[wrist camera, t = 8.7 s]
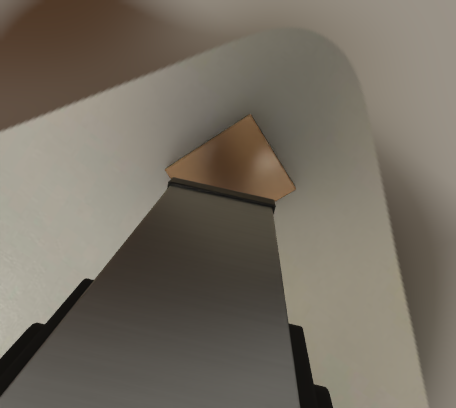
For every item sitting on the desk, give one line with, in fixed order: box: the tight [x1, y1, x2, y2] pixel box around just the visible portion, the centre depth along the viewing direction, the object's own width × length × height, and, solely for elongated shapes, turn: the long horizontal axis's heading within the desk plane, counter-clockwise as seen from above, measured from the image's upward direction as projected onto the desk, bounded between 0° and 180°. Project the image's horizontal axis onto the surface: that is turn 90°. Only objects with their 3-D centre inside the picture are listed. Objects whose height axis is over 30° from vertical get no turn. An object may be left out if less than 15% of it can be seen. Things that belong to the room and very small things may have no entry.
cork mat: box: [165, 114, 296, 201], centre depth 27 cm, size 7×6×1 cm
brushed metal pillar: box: [0, 177, 300, 408], centre depth 10 cm, size 5×4×12 cm
